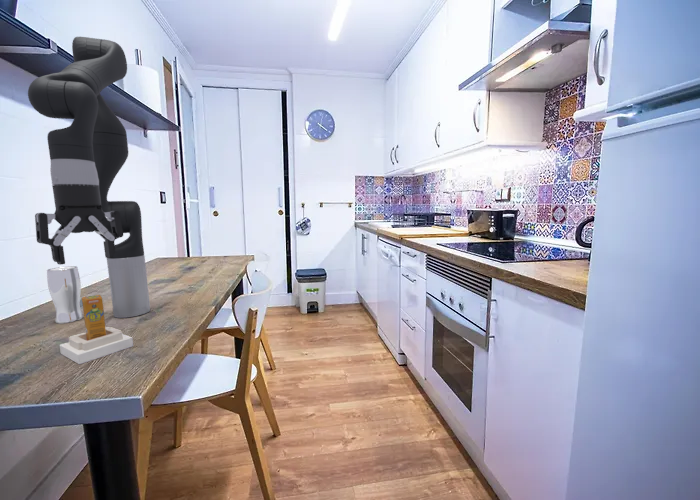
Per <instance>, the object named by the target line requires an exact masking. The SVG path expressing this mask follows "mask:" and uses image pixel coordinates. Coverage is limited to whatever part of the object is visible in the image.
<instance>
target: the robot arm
mask: <svg viewBox="0 0 700 500" xmlns="http://www.w3.org/2000/svg"><path fill="white" fill-rule="evenodd" d="M71 43H72V45H71V46H72V49H71V50H72V57H73V62H72V63H70V64H68V65H66V66H65V67H64V68H63V69H62V70H61V71H59V72H53V73H50V74H46V75H42V76H39V77H37V78H35V79H34V80H32V81H31V83H30V84H29V86H28V90H27V98H28V101H29V103H30V105H31V106H32V108H33V109H34V110H35V112H38V113H39V114H40V115H42V116H44V117H47V118H50V119H59V120H60V119H61V120H62V119H64V120H65V119H66V120H72V123H70V125H69V126H67V127H64V128H59V129H58V128H57V129H53V130H51V131H49V132H48V133H47V137H46V138H47V145H48V152H49V158H50V160H49V161H50V177H51V184H52V185H51V186H52V191H53V199H54V207H55V211H54V213H45V212H37V213H35V214H34V219H35V220H34V221H35V234H36V242H37V243H38V244H42V245H48V246H50V250H51V257H52V261H53V262H54V263H57V265H66V259H65V252H64V246H63V245H62V243H63V242H64V240H65V239H66V238H68V237H69V235H70V234H71V233H72V234H80V233H93V232H94V233H96V234H98V235H99V237H101V238H102V239H103V240H104V241H103V248H104V249H103V250H104V255H105V258H106V263H107V271H108V273H107V274H108V279H109V280H108V281H109V288H110V296H111V302H112V303H111V304H112V305H111V306H112V312H113V313H112V314H113V317H114V318H118V319H119V318H120V319H122V318H132V317H137V316H141V315H144V314H147V313H149V312H150V311H151V304H150V294H149V286H148V285H149V284H148V276H147V266H146V258H145V257H146V256H145V251H144V249H145V248H144V241H143V232H142V231H143V228H142V227H143V226H142V224H143V223H142V211H141V208H140V205H139V203H138V202H137V201H133V200H111V201H110V200H108V194H109V191H110V188H111V186H112V183H113V181H114V180H115V178H116V176H117V175H118V174H119V172H120V170H121V169H122V168H123V167H124V165H125V163H126V161H127V159H128V157H129V143H128V137H127V136H128V135H127V130H126V128H125V125H124V124H123V123H122V121H121V120H120V119H119V118H118V116H117V115H116V114H115V112H113V110H112V109H111V107H109V105H108V104H107V103H106V101H105V100H104V98H103V96H102V95H101V92H102V91H103V90H104V89H105V88H107V87H108V86H110V85H113V84H114V83H116V82H118V81H120V80H122V79H124V78H125V77H126V75H127V73H128V62H127V58H126V54H125V51H124V49H123V47H121V44H119V43H117V42H115V41H113V40H109V39H102V38H93V37H89V36H88V37H87V36H74V38H73V39H72V42H71ZM53 220H55V221H56V222H57V223H58V224H59V227H58V228H57V230H56V231H55V232H54V235H53V236H52V237H51V238H50V237H49V236H50V235H49V234H50V233H49V225H50V224H52V221H53ZM124 234H129V236H128V237H127V238H126V239H124V240H123V241H122V242H119V243H117V244H115V241H116V240H117V239H119V238H123V237H124Z"/></svg>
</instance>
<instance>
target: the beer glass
mask: <svg viewBox="0 0 700 500" xmlns="http://www.w3.org/2000/svg"><path fill="white" fill-rule="evenodd" d="M46 277H47V278H46V279H47V287H48V288H47V289H48V292H49V295H50V298H51V300H52V303H53V305H54V309H55V320H54V321H55V324H60V325H61V324H67V323H69V324H70V323H73V322H77V321H81V320H83V318H84V313H83V312H82V308H81V292H82V291H81V290H82V285H81V283H82V282H81V277H80V271H79V269H78V266H77V265H76V266H74V265H73V266H69V265H68V266H59V267H54V268H48V269H47V270H46Z"/></svg>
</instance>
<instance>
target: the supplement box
mask: <svg viewBox="0 0 700 500" xmlns="http://www.w3.org/2000/svg"><path fill="white" fill-rule="evenodd" d="M81 301H82V302H81V303H82V309H83V318H84V327H85V332H86V336H87V341H88V340H92V339H95V338H98V337H102V336H105V335H106V329H105V327H106V322H105V321H106V320H105V311H104V301H103V298H102V296H101V295H100V294H96V295H89V296H82V297H81Z"/></svg>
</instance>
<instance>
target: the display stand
mask: <svg viewBox="0 0 700 500" xmlns="http://www.w3.org/2000/svg"><path fill="white" fill-rule="evenodd" d="M105 329H106V335H105V336H102V337H98V338H95V339H92V340H88V341H87V336H86V331H85V332H82V333H78V334H74V335H70V336H69V337H68V342H65V343H60V344H59V351H60V352H59V353H60V355H62V356H64V357H66V358H67V359H69V360H71V361H73V362H75V363H76V364H78V365H82V364H85V363H88V362H91V361H95V360H96V359H100V358H103V357H106V356H109V355H112V354H114V353H117V352H121V351H124V350H127V349H129V348H131V347H134V341H133V340H134V339H133V337H132V336H129V335H126V334H124V333H123V331H122V330H120V329H118V328H115V327H112V326H110V327H108V326H105Z"/></svg>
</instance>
